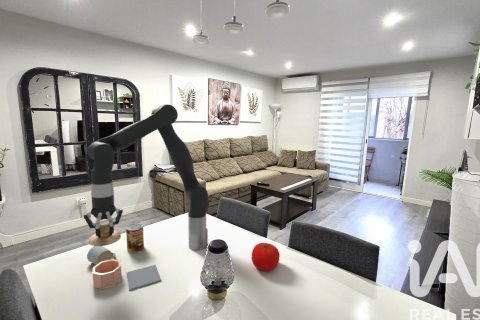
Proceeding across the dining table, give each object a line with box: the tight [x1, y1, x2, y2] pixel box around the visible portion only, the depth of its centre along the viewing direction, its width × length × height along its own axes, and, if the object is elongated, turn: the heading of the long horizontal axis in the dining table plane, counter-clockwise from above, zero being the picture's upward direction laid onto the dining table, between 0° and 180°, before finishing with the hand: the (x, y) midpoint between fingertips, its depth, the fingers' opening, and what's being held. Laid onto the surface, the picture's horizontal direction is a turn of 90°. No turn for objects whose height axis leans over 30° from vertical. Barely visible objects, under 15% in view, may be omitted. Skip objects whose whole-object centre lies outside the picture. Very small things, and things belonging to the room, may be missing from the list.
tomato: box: [251, 242, 281, 272], centre depth 109 cm, size 14×13×10 cm
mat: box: [126, 264, 162, 291], centre depth 100 cm, size 12×12×1 cm
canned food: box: [125, 222, 145, 254], centre depth 121 cm, size 8×8×12 cm
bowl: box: [92, 258, 123, 290], centre depth 97 cm, size 10×10×6 cm
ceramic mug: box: [86, 246, 117, 266], centre depth 110 cm, size 11×8×8 cm
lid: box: [88, 222, 122, 247], centre depth 94 cm, size 11×11×6 cm
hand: (105, 235), depth 94 cm, fingers closed on lid, 3 cm apart
